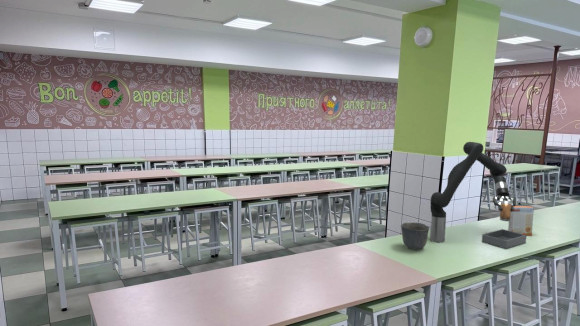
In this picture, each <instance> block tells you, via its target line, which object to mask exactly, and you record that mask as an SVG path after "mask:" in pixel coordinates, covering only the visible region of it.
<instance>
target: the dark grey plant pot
mask: <svg viewBox="0 0 580 326" xmlns="http://www.w3.org/2000/svg"><path fill="white" fill-rule="evenodd" d="M430 227H431V226H429V225H426V224H425V223H421V222H404V223H401V224H400V228H401V236H402V237H401V238H402V242H403V244H404V246H406V247H407V248H408V249H413V250H421V249H423V248H425V246H426V245H427V241H428V236H429V231H430Z"/></svg>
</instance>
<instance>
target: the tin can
mask: <svg viewBox="0 0 580 326" xmlns="http://www.w3.org/2000/svg"><path fill="white" fill-rule="evenodd" d="M511 202H512V200H510V201H508V200H501V204H500V205H501V208H502V211H500V210H499V220H500V221H502V222H509V221H510V219H511Z"/></svg>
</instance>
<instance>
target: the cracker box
mask: <svg viewBox="0 0 580 326" xmlns="http://www.w3.org/2000/svg"><path fill="white" fill-rule="evenodd" d="M513 208H514V210H513V212H511V219H510V221H508V231H512V232H516V233H520V234H523V235H526V237H529V236H531V237H532V236H533V223H534V207H533V206H530V205H515V206H513Z"/></svg>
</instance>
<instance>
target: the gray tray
mask: <svg viewBox="0 0 580 326" xmlns="http://www.w3.org/2000/svg"><path fill="white" fill-rule="evenodd" d="M481 243H483V244H486V245H490V246H493V247H495V248H496V247H498V248H500V249H503V250H509V249H511V248H512V249H513V248H515V247H518V246H521V245H524V244H526V243H527V236H526V235H523V234H520V233H516V232H512V231H508V230H507V229H503V228H501V229H498V230H494V231H489V232H485V233H482V236H481Z"/></svg>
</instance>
